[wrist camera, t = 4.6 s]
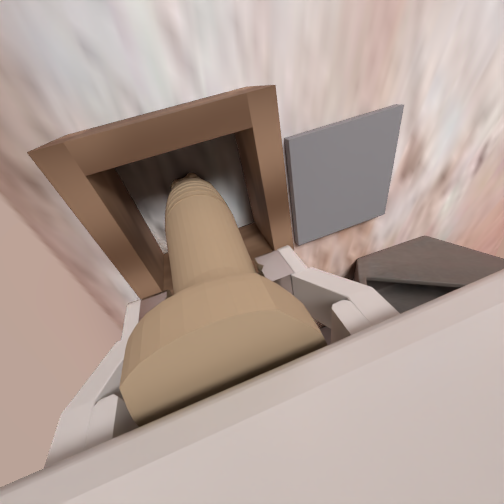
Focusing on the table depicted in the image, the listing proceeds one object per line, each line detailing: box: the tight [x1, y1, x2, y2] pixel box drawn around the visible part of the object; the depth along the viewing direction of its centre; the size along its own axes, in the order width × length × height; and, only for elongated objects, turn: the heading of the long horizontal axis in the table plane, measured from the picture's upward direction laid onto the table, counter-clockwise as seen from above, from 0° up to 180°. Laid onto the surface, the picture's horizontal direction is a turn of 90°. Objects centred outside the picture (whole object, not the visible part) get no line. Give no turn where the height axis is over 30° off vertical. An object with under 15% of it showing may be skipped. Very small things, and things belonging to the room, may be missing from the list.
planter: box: [353, 236, 504, 314], centre depth 24 cm, size 17×8×21 cm
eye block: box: [27, 85, 294, 299], centre depth 16 cm, size 12×12×5 cm
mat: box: [284, 104, 404, 245], centre depth 21 cm, size 10×10×1 cm
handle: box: [119, 173, 327, 427], centre depth 12 cm, size 5×6×15 cm
